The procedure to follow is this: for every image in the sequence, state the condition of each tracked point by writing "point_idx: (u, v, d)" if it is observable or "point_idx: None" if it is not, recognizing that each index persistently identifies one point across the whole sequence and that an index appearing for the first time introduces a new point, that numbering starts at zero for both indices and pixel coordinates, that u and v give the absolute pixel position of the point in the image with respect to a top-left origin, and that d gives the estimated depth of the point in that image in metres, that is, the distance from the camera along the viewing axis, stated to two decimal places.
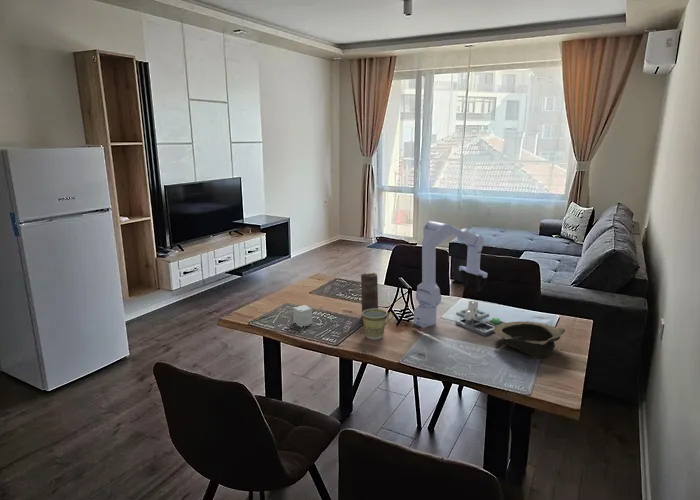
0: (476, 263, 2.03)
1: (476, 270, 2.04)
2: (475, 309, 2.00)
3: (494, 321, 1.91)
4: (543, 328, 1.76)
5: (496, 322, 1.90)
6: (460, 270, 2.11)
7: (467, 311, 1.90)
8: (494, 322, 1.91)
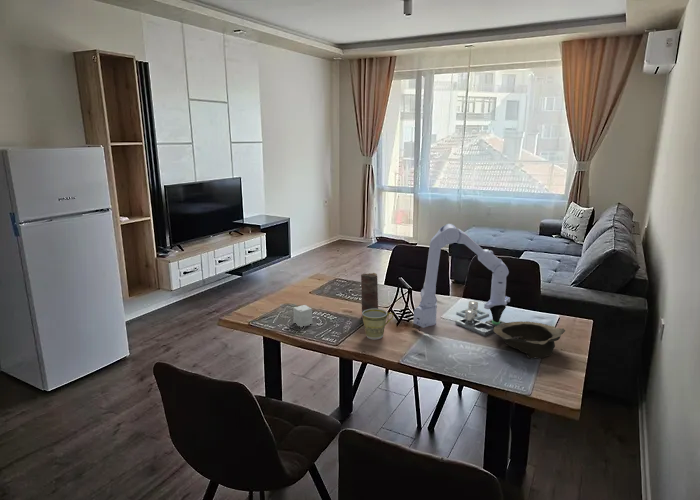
0: (491, 292, 1.88)
1: (491, 300, 1.89)
2: (475, 309, 2.00)
3: (494, 323, 1.91)
4: (543, 328, 1.76)
5: (496, 324, 1.90)
6: None
7: (467, 311, 1.90)
8: None
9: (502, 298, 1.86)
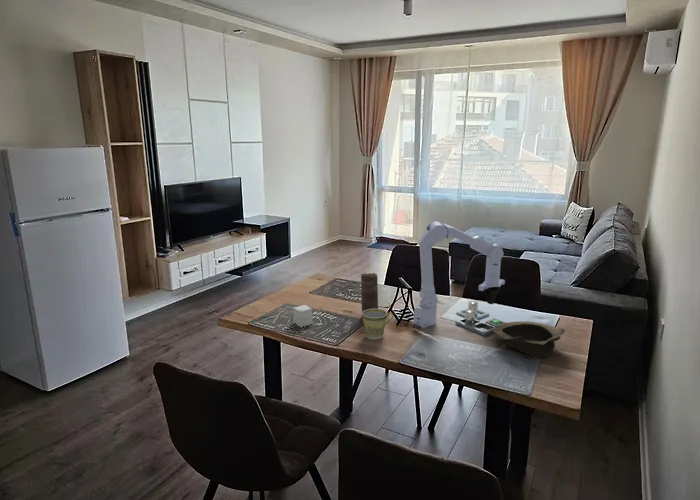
0: (486, 274, 1.89)
1: (486, 282, 1.90)
2: (475, 309, 2.00)
3: (494, 323, 1.91)
4: (543, 328, 1.76)
5: (496, 324, 1.90)
6: None
7: (467, 311, 1.90)
8: None
9: (496, 280, 1.88)
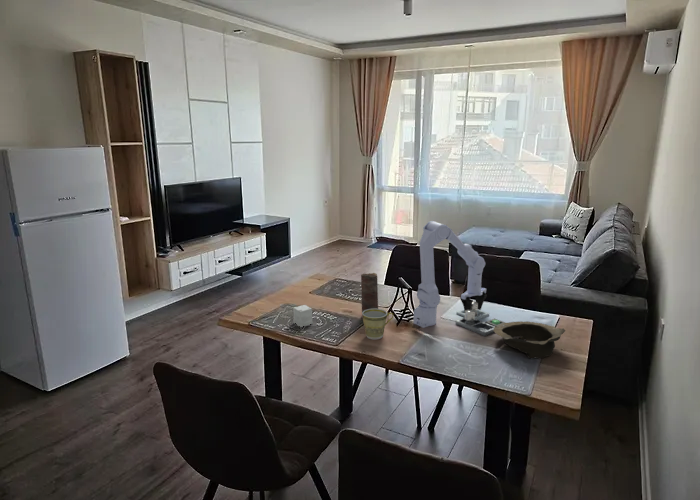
0: (468, 284, 1.99)
1: (468, 291, 1.99)
2: (475, 309, 2.00)
3: (494, 323, 1.91)
4: (543, 328, 1.76)
5: (496, 324, 1.90)
6: None
7: (467, 311, 1.90)
8: None
9: (478, 289, 1.97)
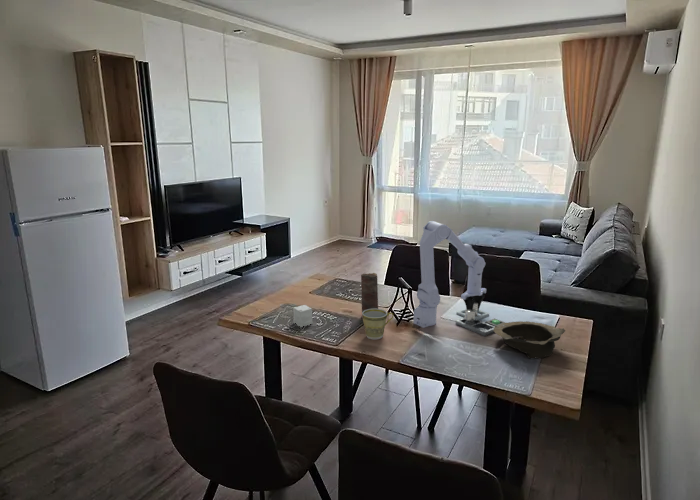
0: (468, 284, 1.99)
1: (468, 291, 1.99)
2: (475, 309, 2.00)
3: (494, 323, 1.91)
4: (543, 328, 1.76)
5: (496, 324, 1.90)
6: None
7: (467, 311, 1.90)
8: None
9: (478, 289, 1.97)
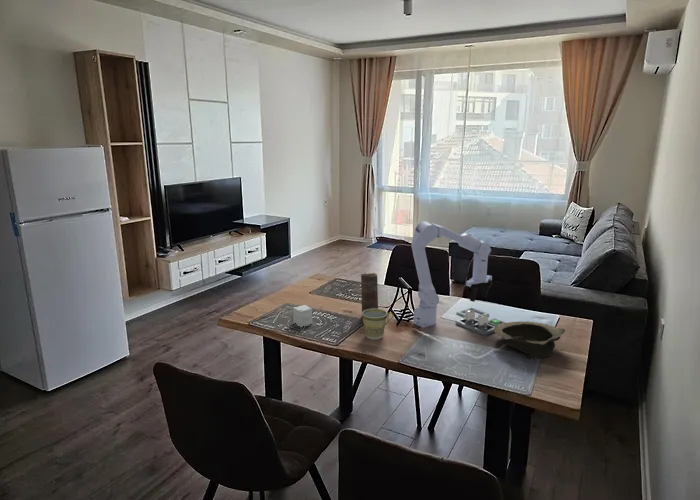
0: (473, 270, 1.93)
1: (473, 278, 1.93)
2: (485, 323, 1.84)
3: (494, 323, 1.91)
4: (543, 328, 1.76)
5: (496, 324, 1.90)
6: None
7: (467, 311, 1.90)
8: None
9: (483, 276, 1.91)
